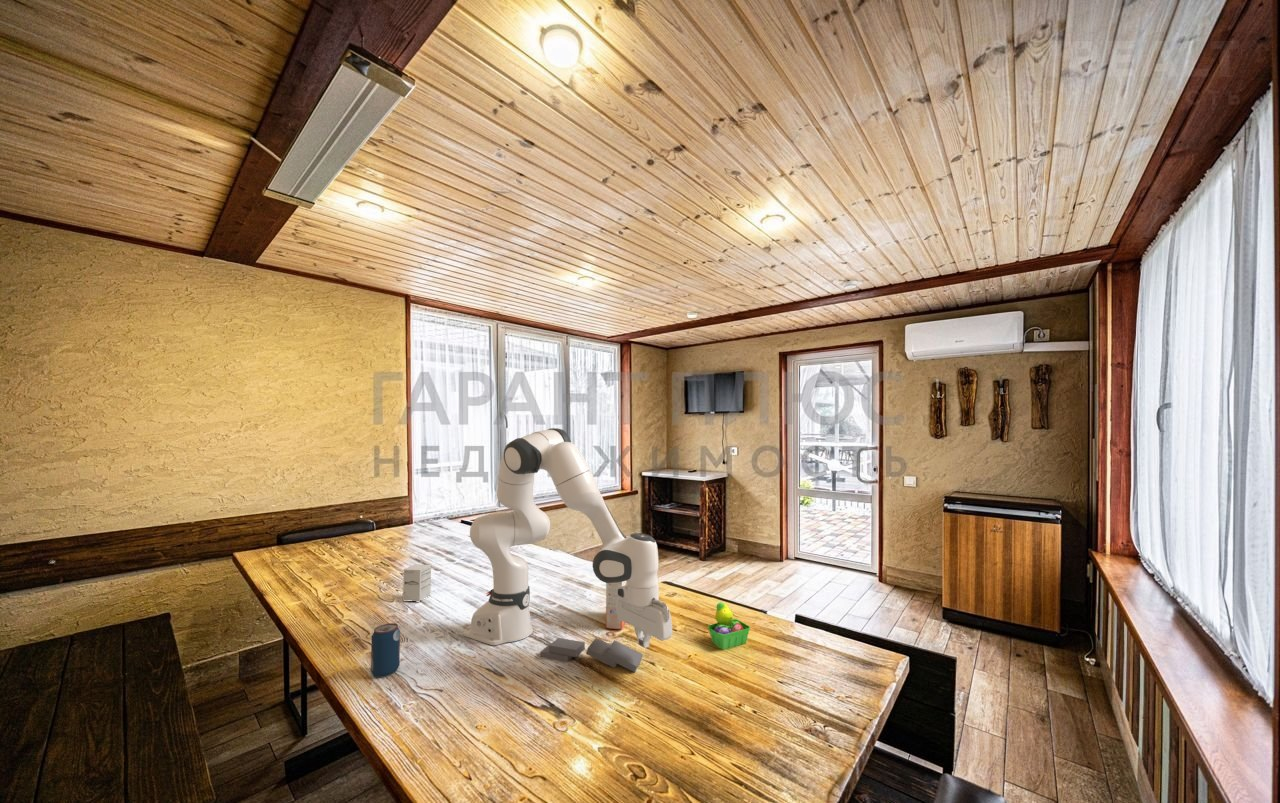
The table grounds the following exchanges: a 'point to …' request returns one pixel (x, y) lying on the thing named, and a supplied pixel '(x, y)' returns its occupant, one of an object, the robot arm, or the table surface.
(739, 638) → the fruit basket
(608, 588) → the cracker box
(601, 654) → the domino
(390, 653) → the soda can
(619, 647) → the domino end
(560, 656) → the domino
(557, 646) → the domino
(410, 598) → the supplement box
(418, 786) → the table surface
